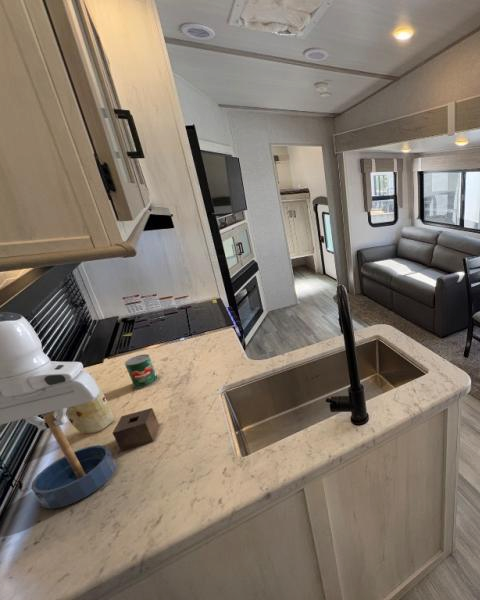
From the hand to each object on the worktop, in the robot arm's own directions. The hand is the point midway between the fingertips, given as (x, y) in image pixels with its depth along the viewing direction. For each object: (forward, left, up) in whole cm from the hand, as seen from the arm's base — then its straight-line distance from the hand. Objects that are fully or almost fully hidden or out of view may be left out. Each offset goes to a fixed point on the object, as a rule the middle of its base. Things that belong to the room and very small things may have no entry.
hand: (54, 425), depth 76 cm
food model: (-6, +26, -19) cm, 33 cm away
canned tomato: (+2, +51, -19) cm, 55 cm away
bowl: (-1, 0, -19) cm, 19 cm away
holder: (+9, +13, -19) cm, 25 cm away
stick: (0, 0, -18) cm, 18 cm away
